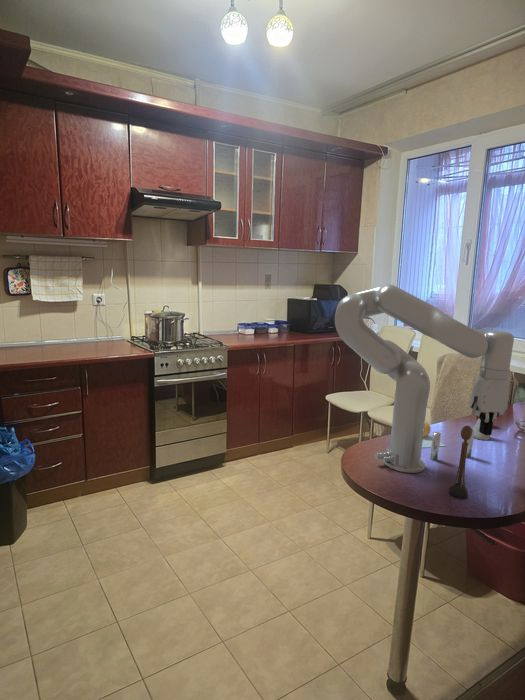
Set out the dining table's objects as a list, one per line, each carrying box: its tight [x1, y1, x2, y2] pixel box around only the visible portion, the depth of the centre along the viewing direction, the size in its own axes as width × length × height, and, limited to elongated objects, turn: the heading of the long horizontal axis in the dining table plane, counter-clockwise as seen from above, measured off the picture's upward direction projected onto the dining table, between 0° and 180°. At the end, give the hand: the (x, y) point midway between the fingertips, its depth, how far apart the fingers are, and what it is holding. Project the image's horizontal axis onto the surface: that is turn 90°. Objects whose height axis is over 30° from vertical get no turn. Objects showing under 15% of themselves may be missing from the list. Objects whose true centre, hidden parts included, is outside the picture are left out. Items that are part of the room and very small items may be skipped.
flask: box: [472, 418, 492, 441], centre depth 167 cm, size 7×7×10 cm
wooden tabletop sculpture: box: [448, 425, 473, 500], centre depth 120 cm, size 6×5×20 cm
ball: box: [423, 421, 432, 437], centre depth 164 cm, size 6×6×6 cm
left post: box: [429, 431, 442, 462], centre depth 144 cm, size 2×2×9 cm
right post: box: [466, 431, 475, 459], centre depth 148 cm, size 2×2×9 cm
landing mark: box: [422, 435, 446, 449], centre depth 160 cm, size 10×10×1 cm
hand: (485, 433), depth 132 cm, fingers closed
